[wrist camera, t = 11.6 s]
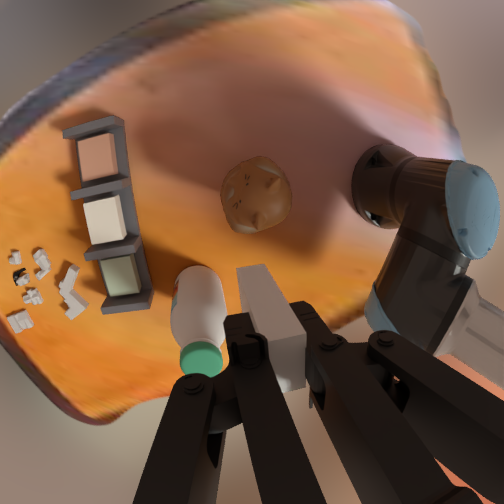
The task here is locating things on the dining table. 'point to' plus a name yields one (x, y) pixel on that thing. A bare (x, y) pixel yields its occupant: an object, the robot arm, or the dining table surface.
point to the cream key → (105, 219)
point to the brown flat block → (97, 157)
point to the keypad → (123, 188)
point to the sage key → (121, 274)
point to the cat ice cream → (255, 196)
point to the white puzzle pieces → (34, 296)
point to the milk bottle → (199, 320)
